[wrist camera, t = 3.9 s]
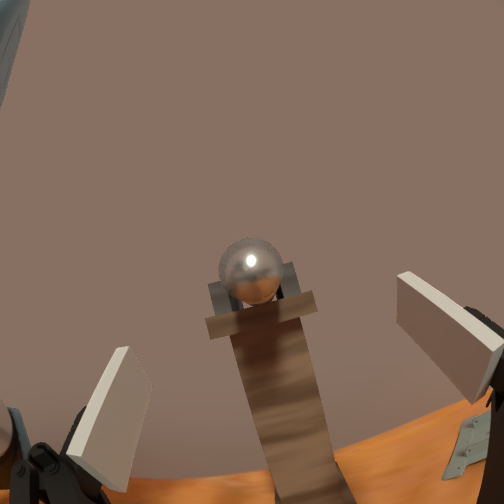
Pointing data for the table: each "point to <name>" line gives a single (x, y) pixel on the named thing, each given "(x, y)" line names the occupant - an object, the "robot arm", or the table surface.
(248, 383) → the walnut stand
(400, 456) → the table surface
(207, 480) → the table surface
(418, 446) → the table surface
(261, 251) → the chrome rounded rod
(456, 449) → the metal bracket
